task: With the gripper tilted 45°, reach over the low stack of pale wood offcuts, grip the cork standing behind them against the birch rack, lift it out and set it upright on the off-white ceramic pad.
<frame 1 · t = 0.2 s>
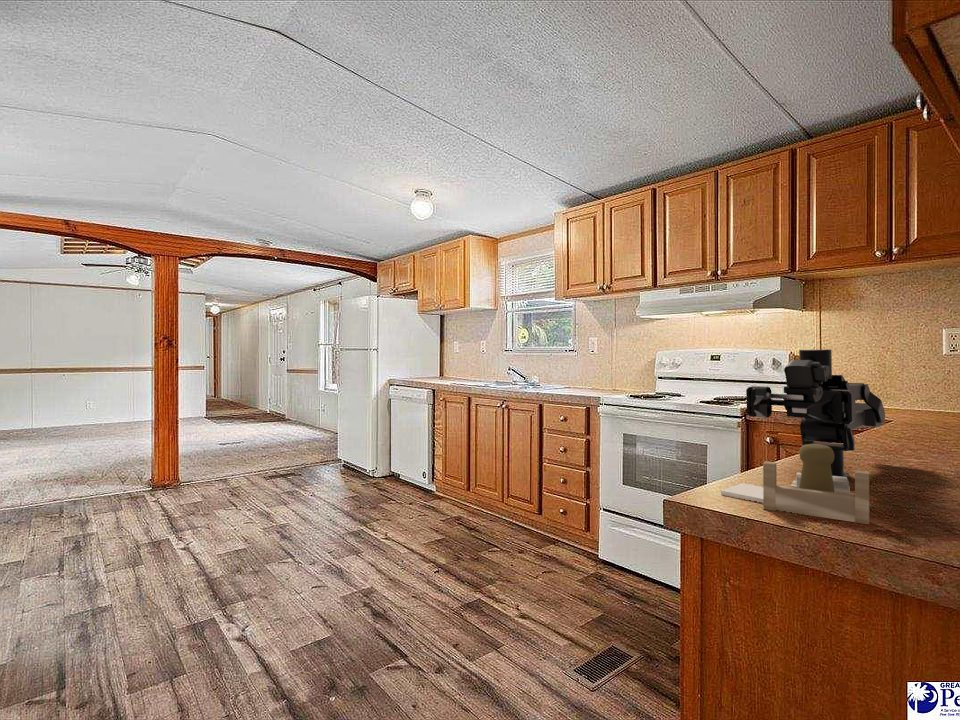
hand: (780, 409, 98), 17 cm above the countertop, tool horizontal, fingers open, 9 cm apart
ceramic pad: (753, 495, 100), on the countertop
birch rack: (814, 514, 88), on the countertop
cork: (816, 508, 92), on the countertop
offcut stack: (819, 497, 98), on the countertop
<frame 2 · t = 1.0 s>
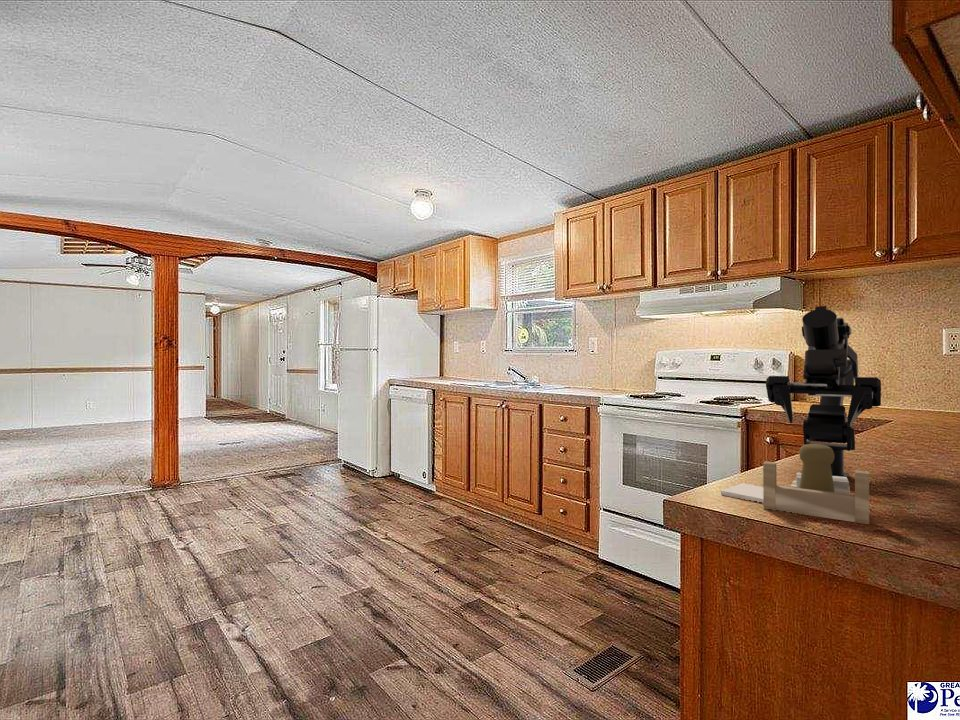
hand: (818, 423, 98), 14 cm above the countertop, tool tilted 45°, fingers open, 9 cm apart
nothing on the countertop moved.
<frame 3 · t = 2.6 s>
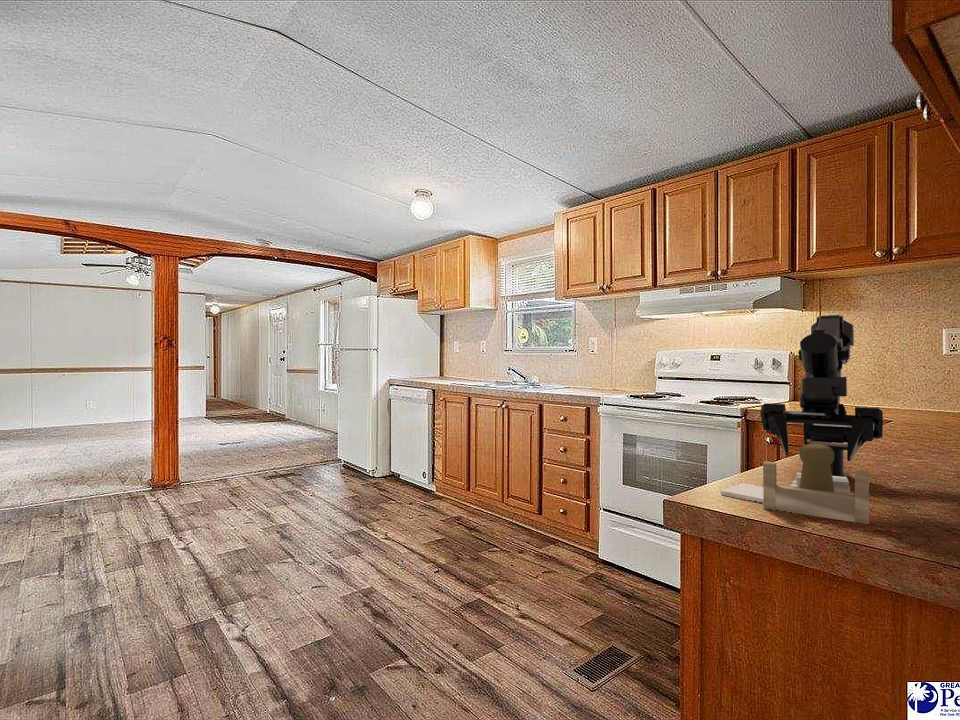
hand: (816, 456, 92), 9 cm above the countertop, tool tilted 45°, fingers open, 9 cm apart
nothing on the countertop moved.
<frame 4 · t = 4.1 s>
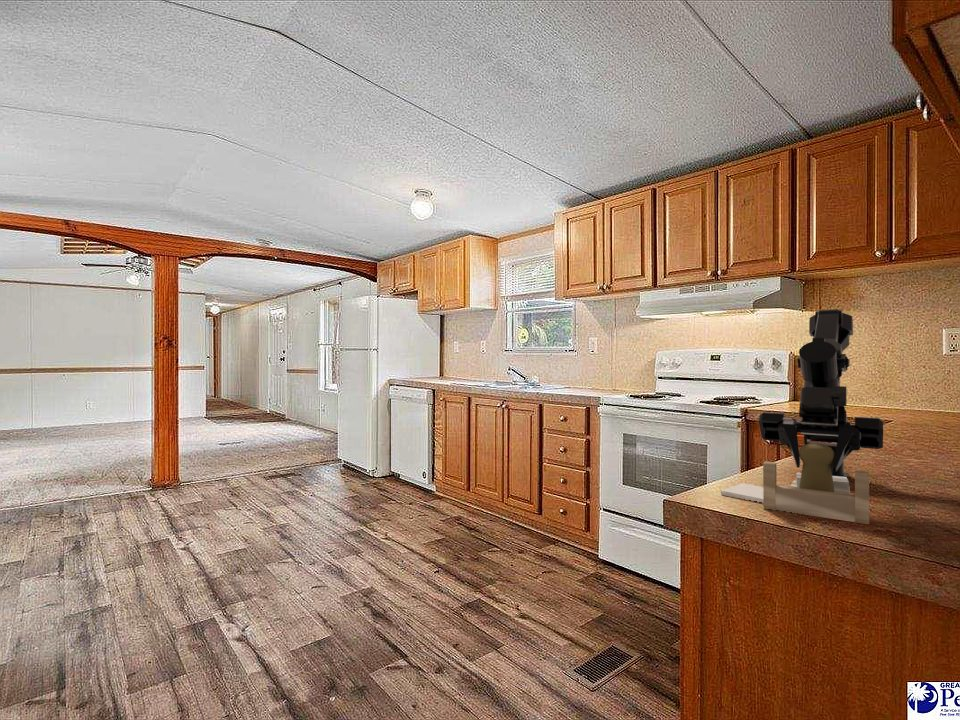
hand: (816, 468, 91), 7 cm above the countertop, tool tilted 45°, fingers closed on cork, 5 cm apart
cork: (816, 508, 92), on the countertop, touching gripper
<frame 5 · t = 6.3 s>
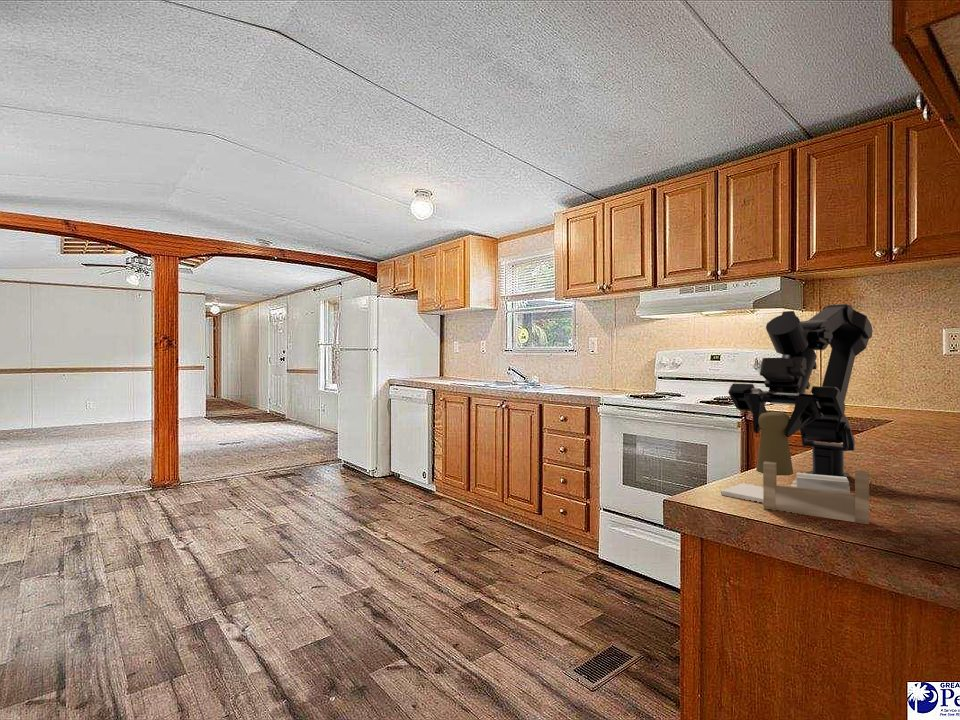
hand: (770, 434, 96), 12 cm above the countertop, tool tilted 45°, fingers closed on cork, 5 cm apart
cork: (774, 472, 97), point 5 cm above the countertop, touching gripper
when the fingers open (9 cm above the countertop, at t = 8.4 s): cork stays where it is, resting on ceramic pad.
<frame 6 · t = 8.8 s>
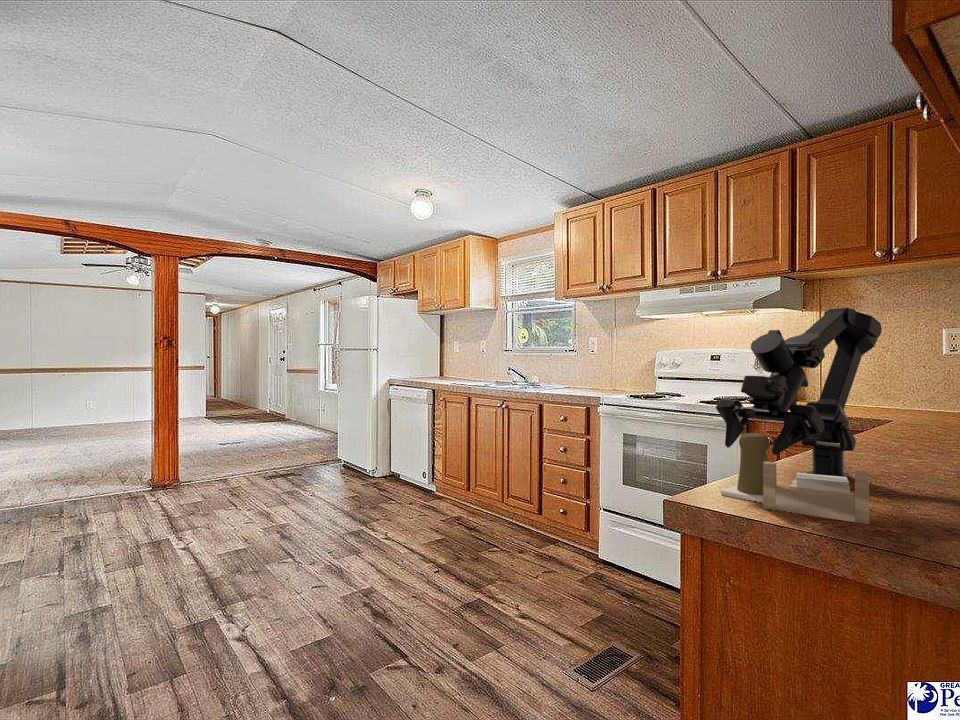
hand: (749, 449, 99), 9 cm above the countertop, tool tilted 45°, fingers open, 9 cm apart
cork: (754, 491, 100), point 1 cm above the countertop, touching ceramic pad
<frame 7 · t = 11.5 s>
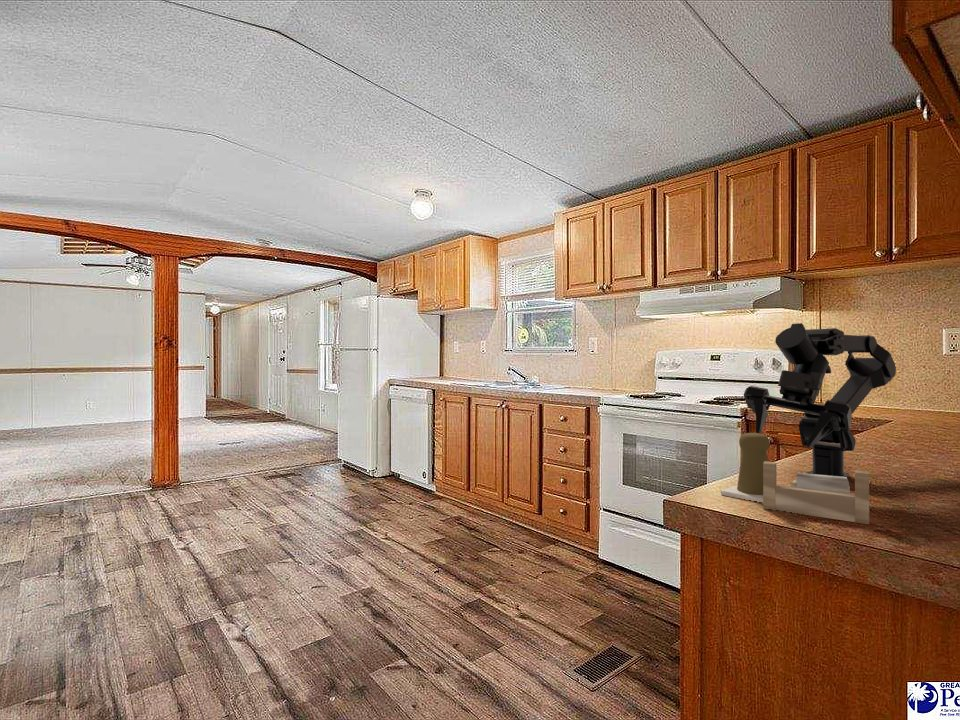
hand: (781, 441, 104), 9 cm above the countertop, tool tilted 40°, fingers open, 9 cm apart
nothing on the countertop moved.
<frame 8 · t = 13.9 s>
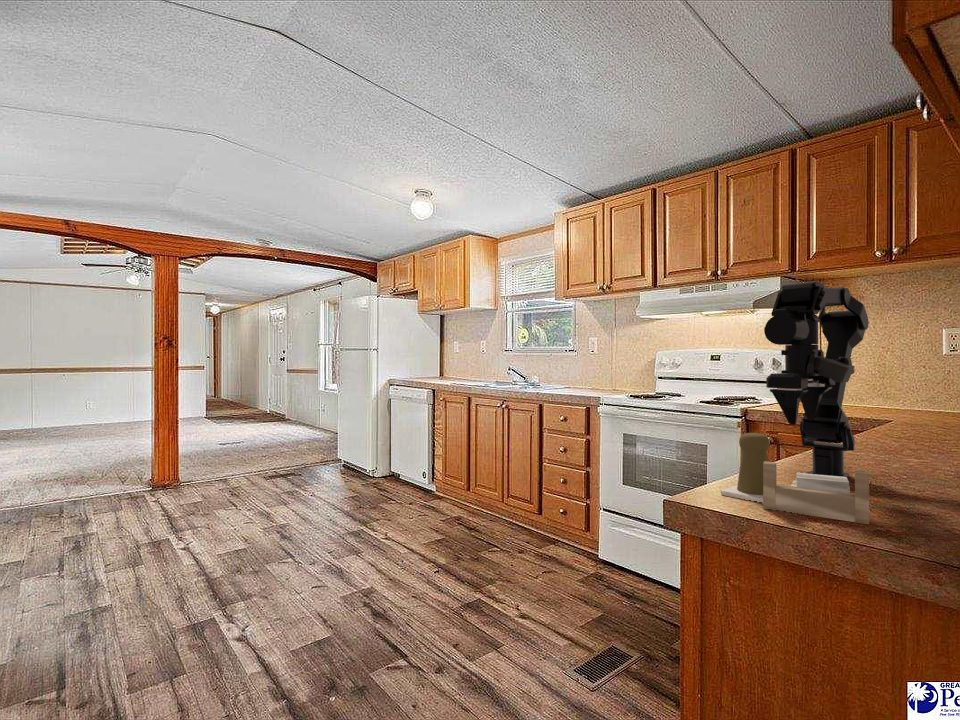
hand: (802, 422, 105), 13 cm above the countertop, tool pointing down, fingers open, 9 cm apart
nothing on the countertop moved.
at the end: cork 0.2 cm off-centre on the ceramic pad, point 0.6 cm above the ceramic pad's base; cork tilted 0°; the gripper is holding nothing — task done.
